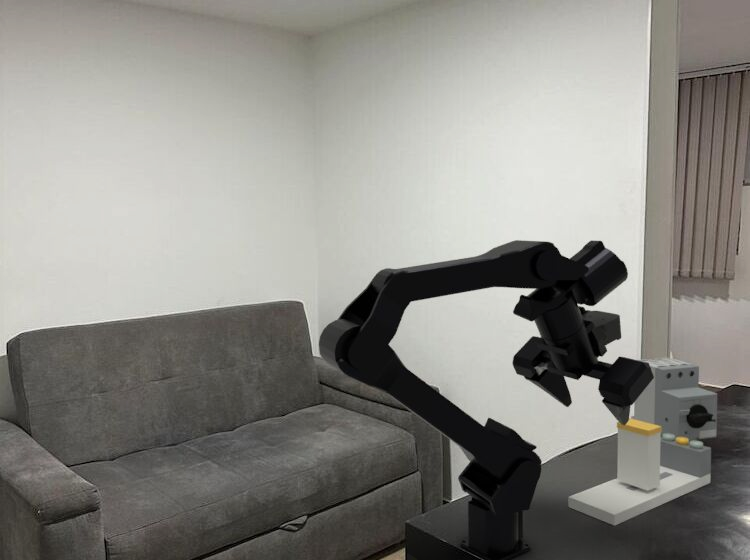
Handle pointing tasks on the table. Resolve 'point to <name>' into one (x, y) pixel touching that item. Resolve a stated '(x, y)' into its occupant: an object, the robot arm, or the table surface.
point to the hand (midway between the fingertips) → (596, 413)
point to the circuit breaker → (677, 401)
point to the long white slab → (677, 477)
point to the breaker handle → (639, 454)
